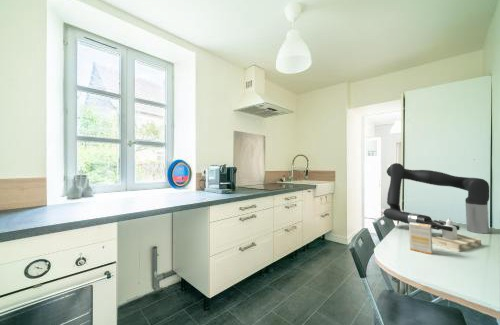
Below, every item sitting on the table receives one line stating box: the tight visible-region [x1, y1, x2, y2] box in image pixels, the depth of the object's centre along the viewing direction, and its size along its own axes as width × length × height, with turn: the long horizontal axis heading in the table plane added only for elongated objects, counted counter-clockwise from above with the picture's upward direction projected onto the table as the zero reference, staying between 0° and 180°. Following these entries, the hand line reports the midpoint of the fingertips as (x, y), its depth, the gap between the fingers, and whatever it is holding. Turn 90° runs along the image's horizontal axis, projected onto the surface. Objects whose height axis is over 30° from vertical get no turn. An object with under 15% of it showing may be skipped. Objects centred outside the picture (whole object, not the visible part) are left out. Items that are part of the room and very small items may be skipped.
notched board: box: [432, 233, 482, 253], centre depth 106 cm, size 20×11×3 cm, turn 110°
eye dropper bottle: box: [441, 217, 458, 241], centre depth 108 cm, size 4×6×12 cm
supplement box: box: [408, 222, 433, 255], centre depth 99 cm, size 8×5×13 cm, turn 43°
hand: (455, 228), depth 106 cm, fingers closed on eye dropper bottle, 5 cm apart
